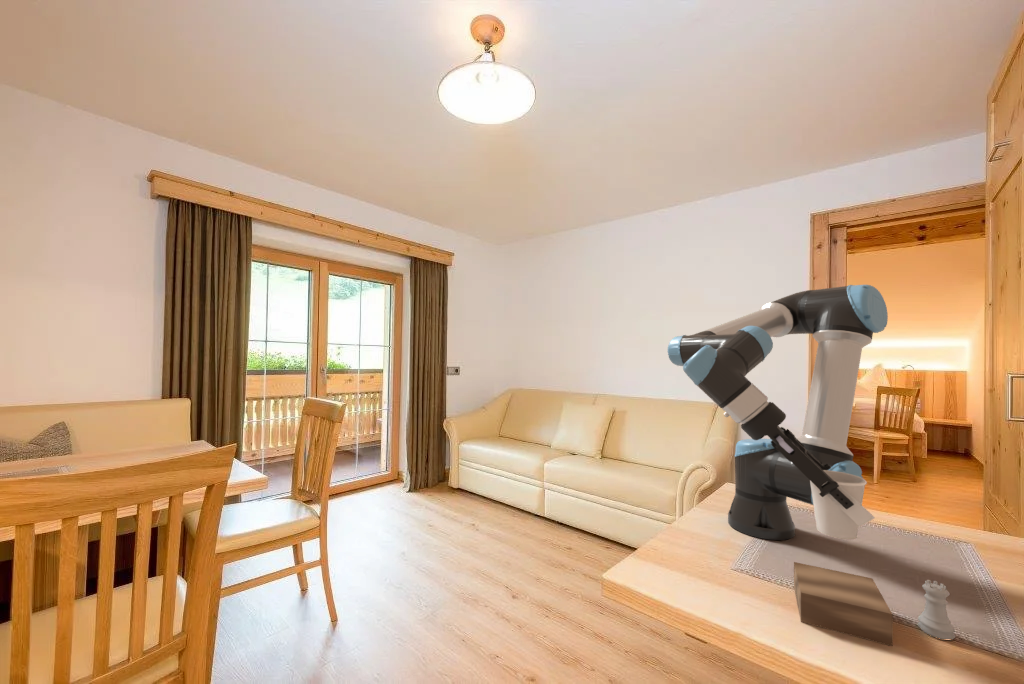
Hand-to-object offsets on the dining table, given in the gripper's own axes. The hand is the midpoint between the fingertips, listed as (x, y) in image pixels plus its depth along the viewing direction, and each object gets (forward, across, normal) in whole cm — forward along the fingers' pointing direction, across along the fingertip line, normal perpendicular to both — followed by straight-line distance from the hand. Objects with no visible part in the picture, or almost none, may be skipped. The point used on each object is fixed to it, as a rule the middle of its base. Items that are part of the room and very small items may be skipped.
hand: (860, 512), depth 73 cm
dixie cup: (+1, 0, -6) cm, 6 cm away
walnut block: (+11, 0, -15) cm, 19 cm away
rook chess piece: (+20, -2, -6) cm, 21 cm away
